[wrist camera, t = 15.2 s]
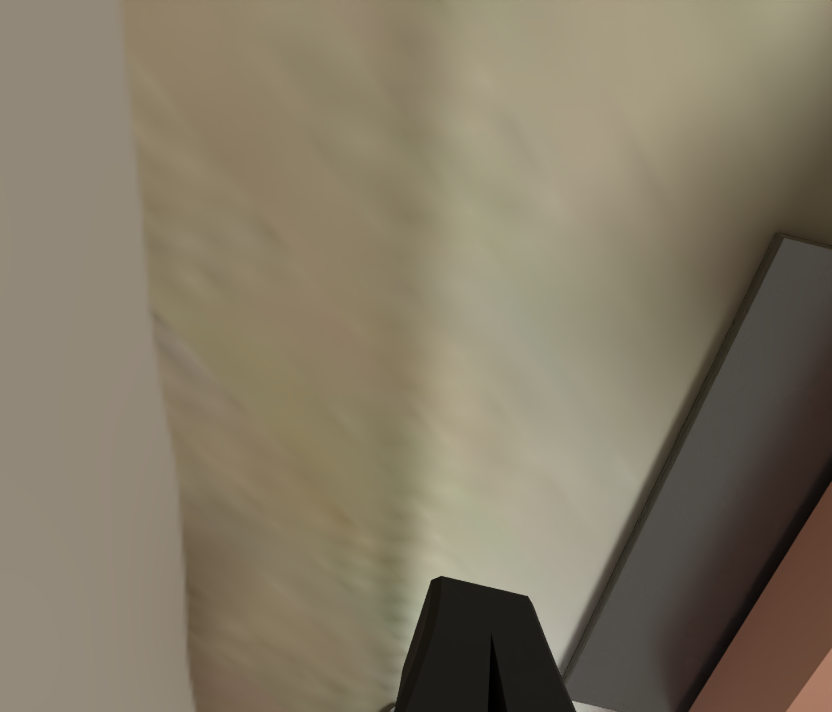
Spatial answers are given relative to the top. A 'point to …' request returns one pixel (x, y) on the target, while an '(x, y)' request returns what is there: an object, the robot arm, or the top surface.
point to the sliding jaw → (784, 634)
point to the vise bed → (722, 497)
